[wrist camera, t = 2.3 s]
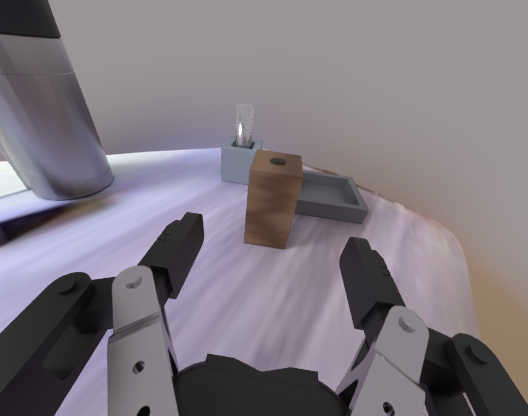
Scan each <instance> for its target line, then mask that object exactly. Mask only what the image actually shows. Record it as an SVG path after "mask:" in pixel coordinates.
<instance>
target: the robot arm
mask: <svg viewBox="0 0 528 416" xmlns="http://www.w3.org/2000/svg"><path fill="white" fill-rule="evenodd" d="M59 37H61V35H60V33H59V30H58V27H57V25H56V22H55V19H54V17H53V14H52V11H51V8H50V5H49V2H48V0H0V151H1V152H2V154H3V155H4V156H5V158H6V159H7V161H8V162H9V164H10V165H11V167H12V168H13V169H14V171H15V172H16V174H17V175H18V177H19V178H20V179H21V181H22V182H23V184H24V185H25V187H26V188H29V189H32V191H33V192H34V194H36V195H37V196H38V197H41V198H44V199H50V200H66V199H73V198H79V197H83V196H87V195H90V194H93V193H96V192H98V191H100V190H102V189H104V188H105V187H107V186H108V185H109V184H111V182H112V181H113V178H114V177H113V174H112V171H111V168H110V166H109V163H108V160H107V157H106V155H105V152H104V149H103V146H102V144H101V141H100V138H99V136H98V133H97V131H96V128H95V125H94V122H93V120H92V117H91V115H90V112H89V109H88V106H87V104H86V101H85V98H84V96H83V93H82V90H81V88H80V85H79V83H78V80H77V77H76V75H75V72H74V70H73V67H72V64H71V62H70V59H69V56H68V54H67V51H66V48H65V46H64V43H63V40H62V39H61V38H59ZM203 241H204V227H203V217H202V214H198V213H191V212H187V213H186V214H185V215H184V216H183V218H182V219H181V221H180V220H175V221H173V222H172V223H170V224H169V225H167V227H166V228H165V229H164V230H163V232H162V234H160V236H159V237H158V238H157V241H155V242H154V244H153V245H152V246H151V248H150V249H149V250H148V252H147V253H146V254H145V256H144V257H143V258H142V260H141V261H140V262H139V264H138V265H137V266H133V267H130V268H128V269H126V270H124V271H122V272H121V273H120V274H119V275H118V276H117V277H110V278H103V279H95V280H91V278H90V277H89V275H88V274H86V273H83V272H74V273H70V274H67V275H64V276H62V277H60V278H58V279H56V280H55V281H53V282H52V283H51V284H50V285H49V286H47V287H46V288H45V289H44V290H43V291H42V292H41V293H40V294H39V295H38V296H37V297H36V298H35V299H34V300H33V301H32V302H31V303H30V304H29V305H28V306H27V307H26V308H25V309H24V310H23V311H22V312H21V313H20V314H19V315H18V316H17V317H16V318H15V319H14V320H13V321H12V322H11V323H10V324H9V325H8V326H7V327H6V328H5V329H4V330H3V331H2V332H1V333H0V416H54V415H55V413H56V412H57V410H58V409H59V407H60V405H61V404H62V402H63V401H64V399H65V397H66V396H67V394H68V392H69V391H70V389H71V388H72V386H73V384H74V383H75V381H76V380H77V378H78V376H79V375H80V373H81V372H82V370H83V368H84V367H85V365H86V364H87V362H88V360H89V359H90V357H91V356H92V354H93V352H94V351H95V349H96V347H97V346H98V344H99V343H100V341H101V339H102V338H103V336H104V335H105V333H106V331H107V330H108V329H113V335H112V336H110V337H109V339H108V345H107V365H108V416H422V413H423V408H424V403H425V406H426V409H427V412H428V414H429V416H473V414H472V412H471V410H470V408H469V405H468V403H467V401H466V399H465V397H464V395H463V393H466V395H467V397H468V399H469V401H470V403H471V405H472V407H473V409H474V411H475V413H476V415H477V416H528V404H527V403H526V401H525V400H524V398H523V397H522V395H521V394H520V392H519V391H518V389H517V388H516V386H515V385H514V383H513V382H512V380H511V378H510V377H509V375H508V374H507V372H506V371H505V369H504V368H503V366H502V365H501V363H500V361H499V360H498V358H497V357H496V356H495V354H494V353H493V352H492V351H491V350H490V349H489V348H488V347H487V346H486V345H485V344H483V343H482V342H481V341H479V340H478V339H476V338H474V337H472V336H470V335H468V334H463V333H459V334H456V335H455V336H453V337H452V338H451V337H448V336H446V335H444V334H442V333H439V332H437V331H435V330H433V329H431V328H428V327H427V326H426V324H425V323H424V321H423V320H422V319H421V318H420V317H419V316H418V315H417V314H416V313H415V312H413V311H412V310H410V309H408V308H406V306H405V304H404V302H403V299H402V297H401V295H400V293H399V291H398V289H397V287H396V285H395V283H394V280H393V278H392V277H391V274H390V272H389V270H388V269H387V266H386V264H385V261H384V259H383V258H382V257H381V256H380V255H379V254H378V252H377V251H376V250H371V247H370V245H369V243H368V241H367V239H363V238H356V237H350V238H349V240H348V242H347V244H346V246H345V248H344V250H343V252H342V254H341V256H340V261H339V265H340V270H341V274H342V279H343V283H344V287H345V291H346V295H347V299H348V303H349V308H350V312H351V316H352V320H353V324H354V328H355V329H360V330H364V333H365V337H364V339H363V340H362V342H361V344H360V347H359V349H358V351H357V353H356V355H355V357H354V359H353V361H352V363H351V365H350V367H349V369H348V371H347V373H346V375H345V377H344V378H343V380H342V381H341V382H340V384H339V386H338V387H337V389H336V391H335V392H334V391H333V390H331V389H330V388H329V387H328V386H326V385H325V384H323V383H322V382H320V381H318V372H316V371H310V370H303V369H297V368H291V367H289V368H283V369H277V370H271V371H265V372H262V371H258V370H256V369H255V368H253V367H251V366H249V365H247V364H245V363H243V362H241V361H239V360H237V359H235V358H231V357H225V356H219V355H213V354H207V357H206V361H203V362H199V363H196V364H193V365H191V366H188V367H186V368H185V369H183V370H181V371H179V366H178V362H177V358H176V354H175V351H174V347H173V343H172V339H171V334H170V330H169V325H168V321H167V316H166V312H165V307H164V305H165V303H166V302H167V300H168V298H171V299H176V298H177V296H178V294H179V292H180V290H181V288H182V286H183V284H184V282H185V280H186V278H187V276H188V274H189V272H190V269H191V267H192V265H193V263H194V261H195V259H196V257H197V255H198V253H199V251H200V249H201V247H202V244H203Z"/></svg>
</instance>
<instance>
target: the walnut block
mask: <svg viewBox="0 0 528 416" xmlns="http://www.w3.org/2000/svg"><path fill="white" fill-rule="evenodd" d="M301 160H302V159H301V156H298V155H292V154H285V153H278V152H272V151H266V150H259V149H257V150H256V153H255V156H254V158H253V161H252V164H251V167H250V171H249V183H248V196H247V209H246V222H245V235H244V243H247V244H253V245H259V246H265V247H272V248H278V249H285V245H286V241H287V238H288V234H289V230H290V226H291V222H292V218H293V215H294V211H295V207H296V203H297V199H298V195H299V192H300V188H301V184H302V180H303V169H302V161H301Z"/></svg>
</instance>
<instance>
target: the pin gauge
mask: <svg viewBox="0 0 528 416" xmlns="http://www.w3.org/2000/svg"><path fill="white" fill-rule="evenodd" d="M253 114H254V105H251V104H246V103H238V104H237V119H236V147H240V148H246V149H251V140H252V128H253Z"/></svg>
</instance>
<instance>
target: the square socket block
mask: <svg viewBox="0 0 528 416" xmlns="http://www.w3.org/2000/svg"><path fill="white" fill-rule="evenodd" d="M262 144H263V141H261V140H255V139H252V140H251V149H246V148H240V147H236V137H235V136H230V137H229V138H228V139H227V141H226V142H225V143H224V145H223V146H222V147H221V173H222V181H226V182H233V183H239V184H246V185H248V183H249V171H250V167H251V164H252V161H253V158H254V156H255V153H256V150H257V149H259V150H262Z"/></svg>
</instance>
